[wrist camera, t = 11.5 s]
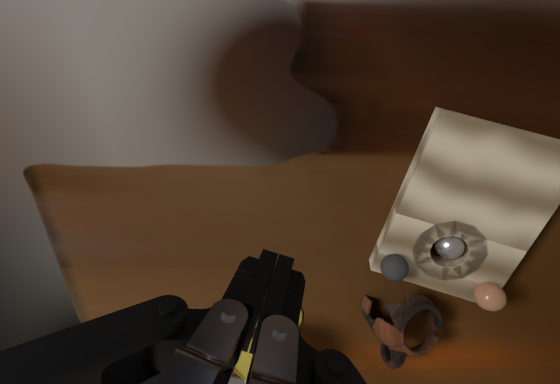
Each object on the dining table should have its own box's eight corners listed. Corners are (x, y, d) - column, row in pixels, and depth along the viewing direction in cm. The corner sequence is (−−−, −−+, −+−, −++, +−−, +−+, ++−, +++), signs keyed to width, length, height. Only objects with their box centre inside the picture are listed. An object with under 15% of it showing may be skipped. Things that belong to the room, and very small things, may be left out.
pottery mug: (359, 276, 45) (396, 302, 37) (411, 272, 48) (455, 296, 40) (352, 350, 47) (386, 390, 39) (402, 342, 49) (443, 378, 42)
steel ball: (439, 223, 39) (446, 238, 36) (464, 231, 39) (474, 247, 36) (426, 243, 41) (433, 259, 38) (451, 251, 41) (459, 267, 38)
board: (435, 106, 35) (442, 109, 32) (579, 144, 33) (596, 149, 31) (369, 259, 43) (370, 270, 41) (481, 294, 42) (489, 306, 40)
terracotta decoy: (476, 273, 38) (488, 291, 35) (503, 281, 38) (518, 300, 35) (464, 293, 40) (474, 312, 37) (490, 301, 39) (503, 321, 36)
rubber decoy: (384, 245, 39) (388, 260, 36) (410, 253, 39) (416, 268, 36) (375, 266, 41) (378, 282, 37) (399, 273, 40) (404, 290, 37)
